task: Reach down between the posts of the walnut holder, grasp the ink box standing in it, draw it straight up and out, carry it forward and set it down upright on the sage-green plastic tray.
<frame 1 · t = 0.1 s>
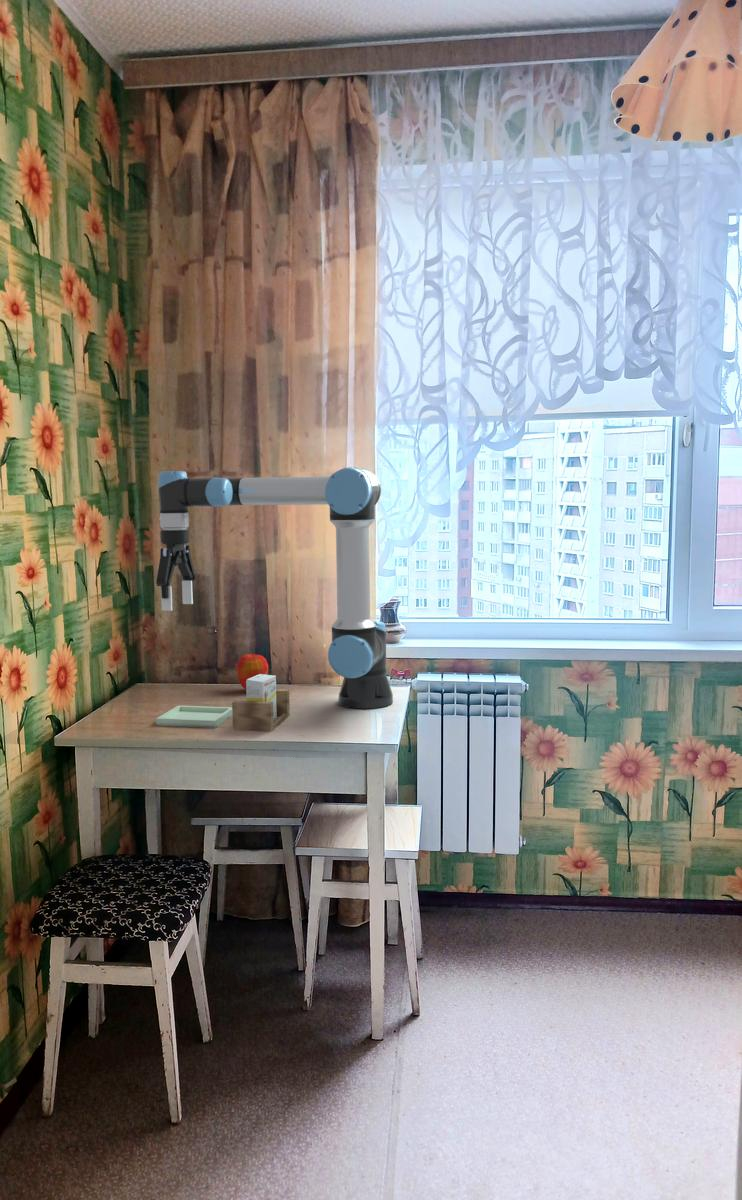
hand: (177, 607, 248), 28 cm above the table, fingers open, 13 cm apart
apple: (253, 692, 271), on the table
ink box: (262, 723, 235), resting in holder
tray: (196, 719, 239), on the table
holder: (262, 722, 235), on the table
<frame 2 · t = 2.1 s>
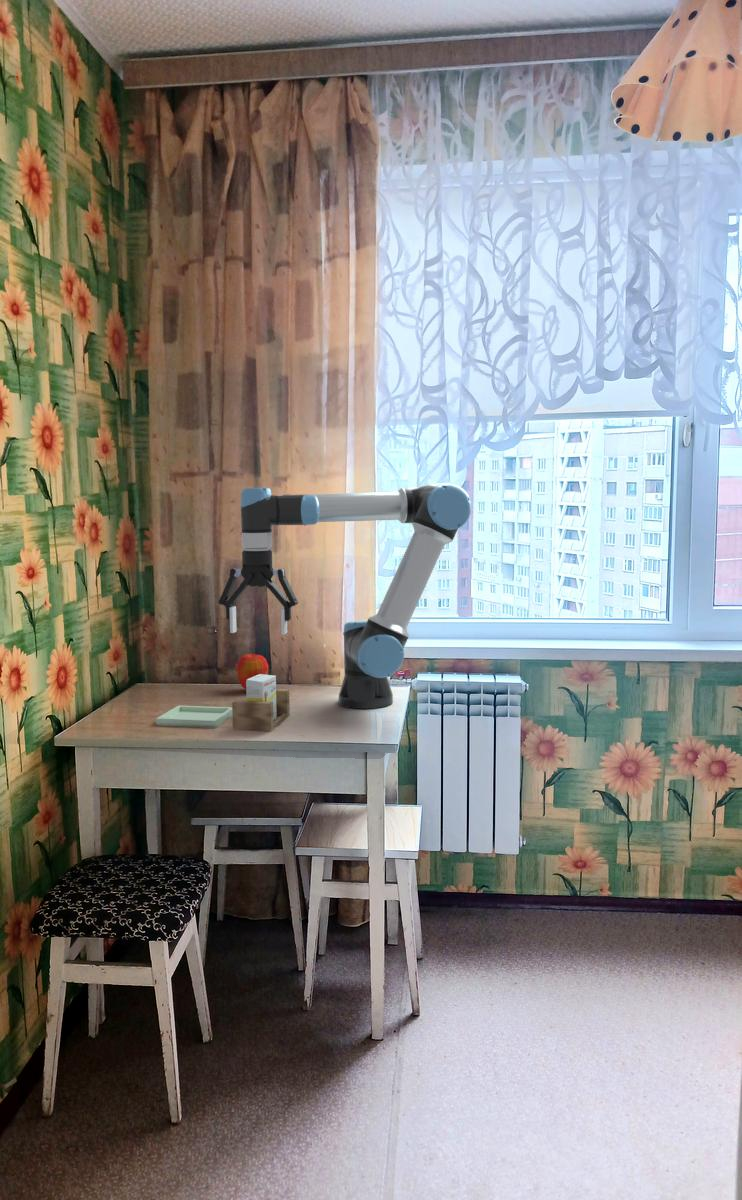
hand: (258, 633, 232), 23 cm above the table, fingers open, 13 cm apart
nothing on the table moved.
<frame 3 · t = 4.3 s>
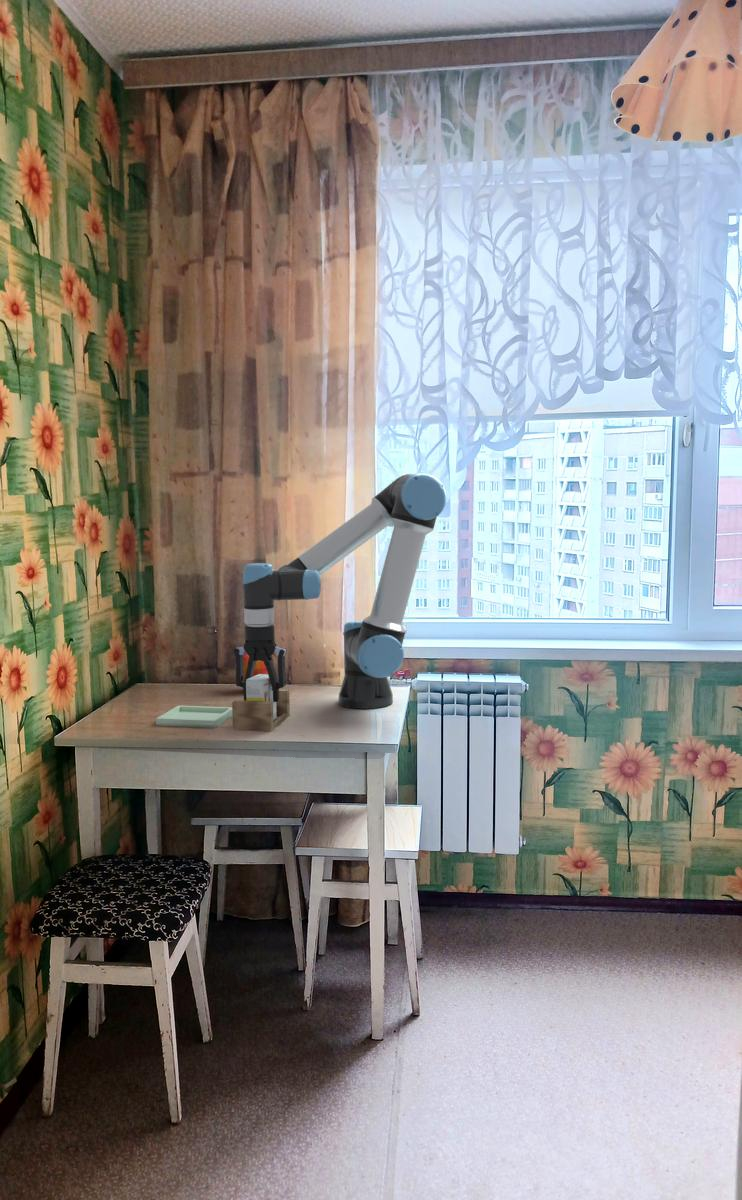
hand: (261, 713, 235), 2 cm above the table, fingers closed on ink box, 5 cm apart
ink box: (262, 723, 235), resting in holder, touching gripper
everything else where it was.
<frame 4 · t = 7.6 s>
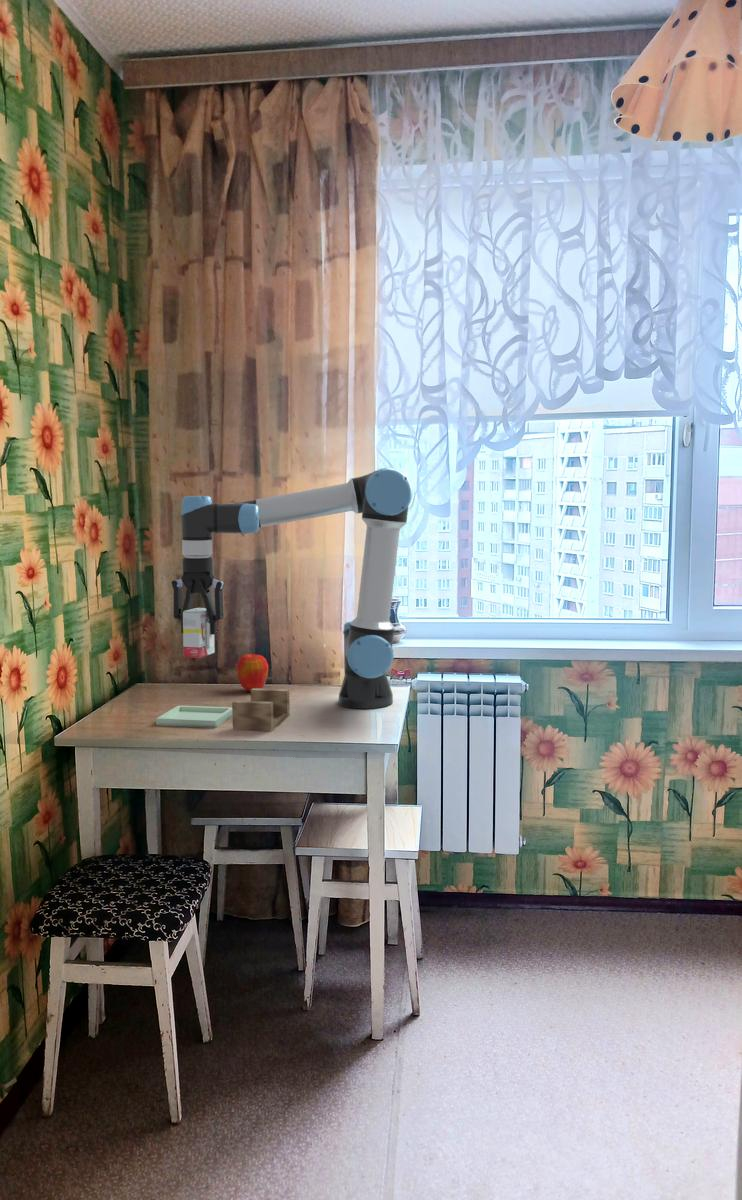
hand: (199, 646, 236), 20 cm above the table, fingers closed on ink box, 5 cm apart
ink box: (199, 655, 236), point 17 cm above the table, touching gripper
everything else where it was.
when the fingers open (4 cm above the table, at t = 10.9 s): ink box stays where it is, resting on tray.
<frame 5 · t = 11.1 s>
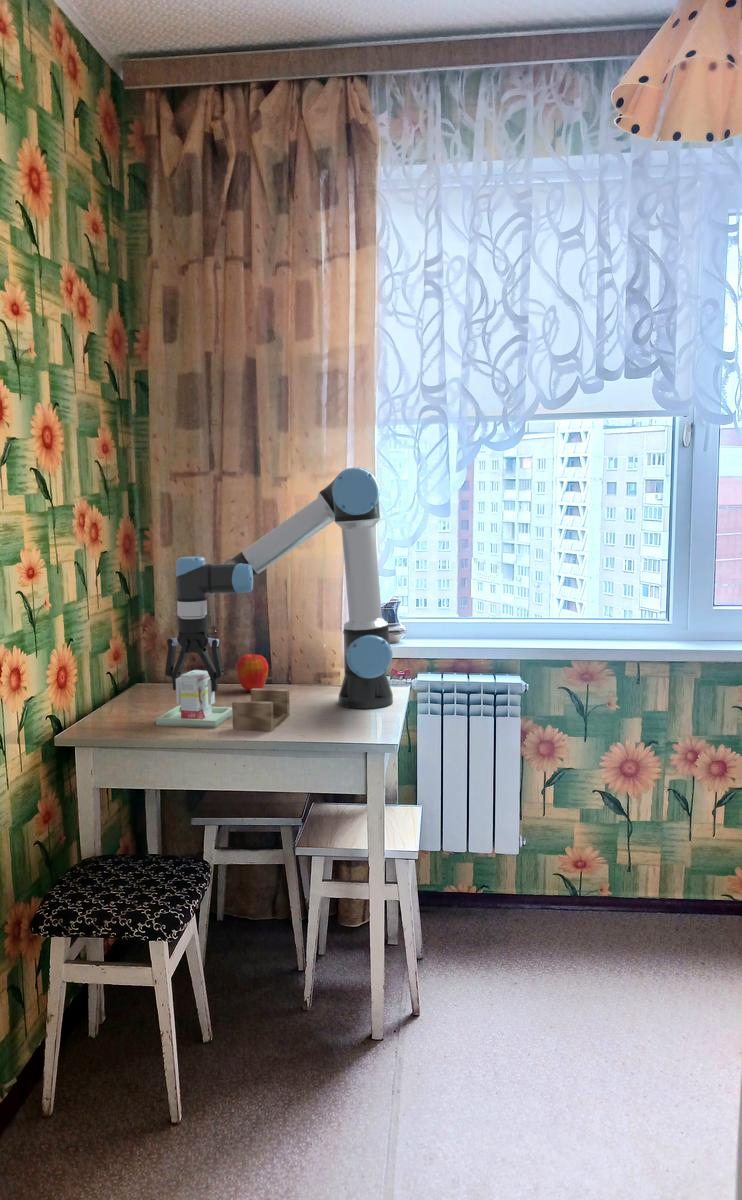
hand: (195, 702, 238), 4 cm above the table, fingers open, 8 cm apart
ink box: (196, 718, 239), resting on tray
everything else where it was.
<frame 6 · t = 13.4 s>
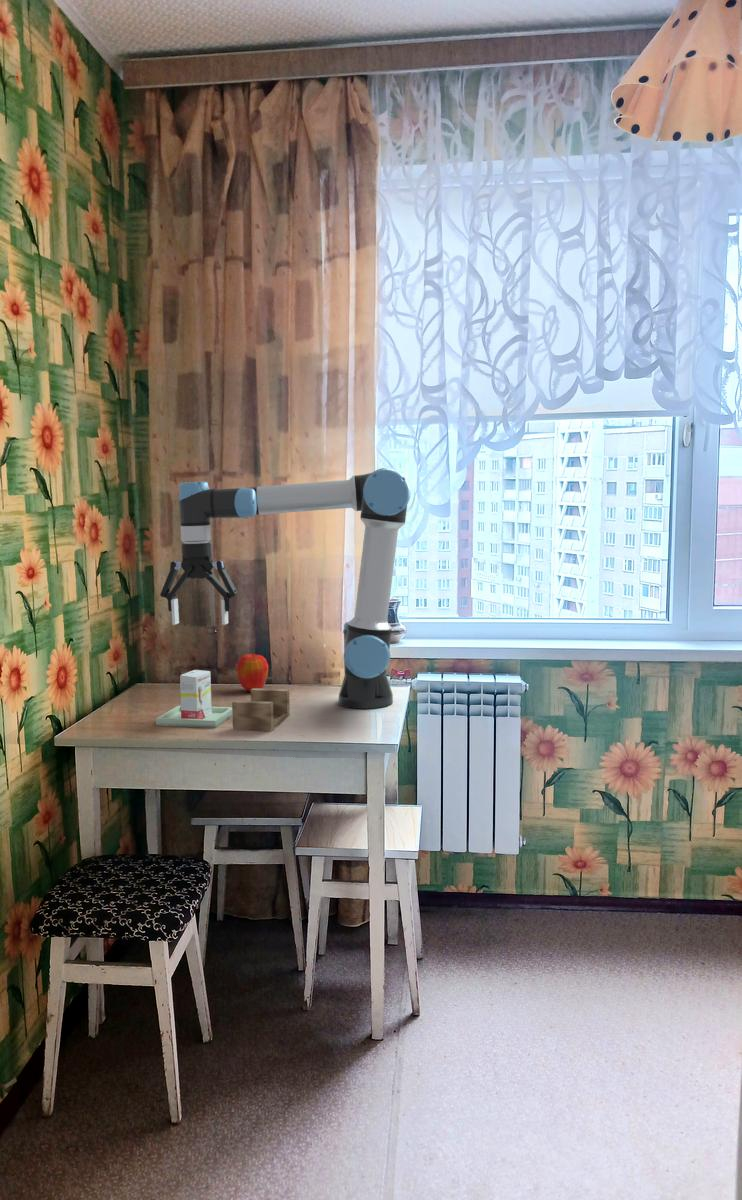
hand: (200, 624, 237), 25 cm above the table, fingers open, 13 cm apart
nothing on the table moved.
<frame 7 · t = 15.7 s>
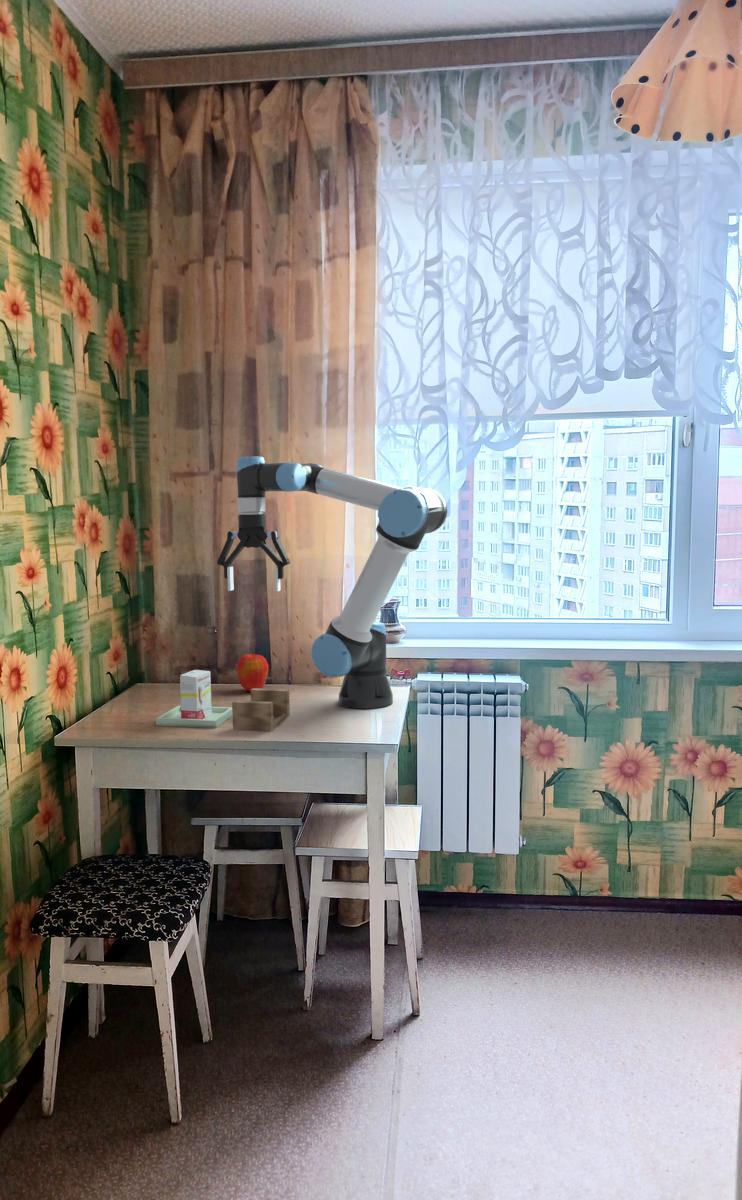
hand: (254, 590, 252), 32 cm above the table, fingers open, 13 cm apart
nothing on the table moved.
at the end: ink box inside the target area on the tray (0.2 cm from its centre), point 0.4 cm above the tray's base; ink box tilted 0°; the gripper is holding nothing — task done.
